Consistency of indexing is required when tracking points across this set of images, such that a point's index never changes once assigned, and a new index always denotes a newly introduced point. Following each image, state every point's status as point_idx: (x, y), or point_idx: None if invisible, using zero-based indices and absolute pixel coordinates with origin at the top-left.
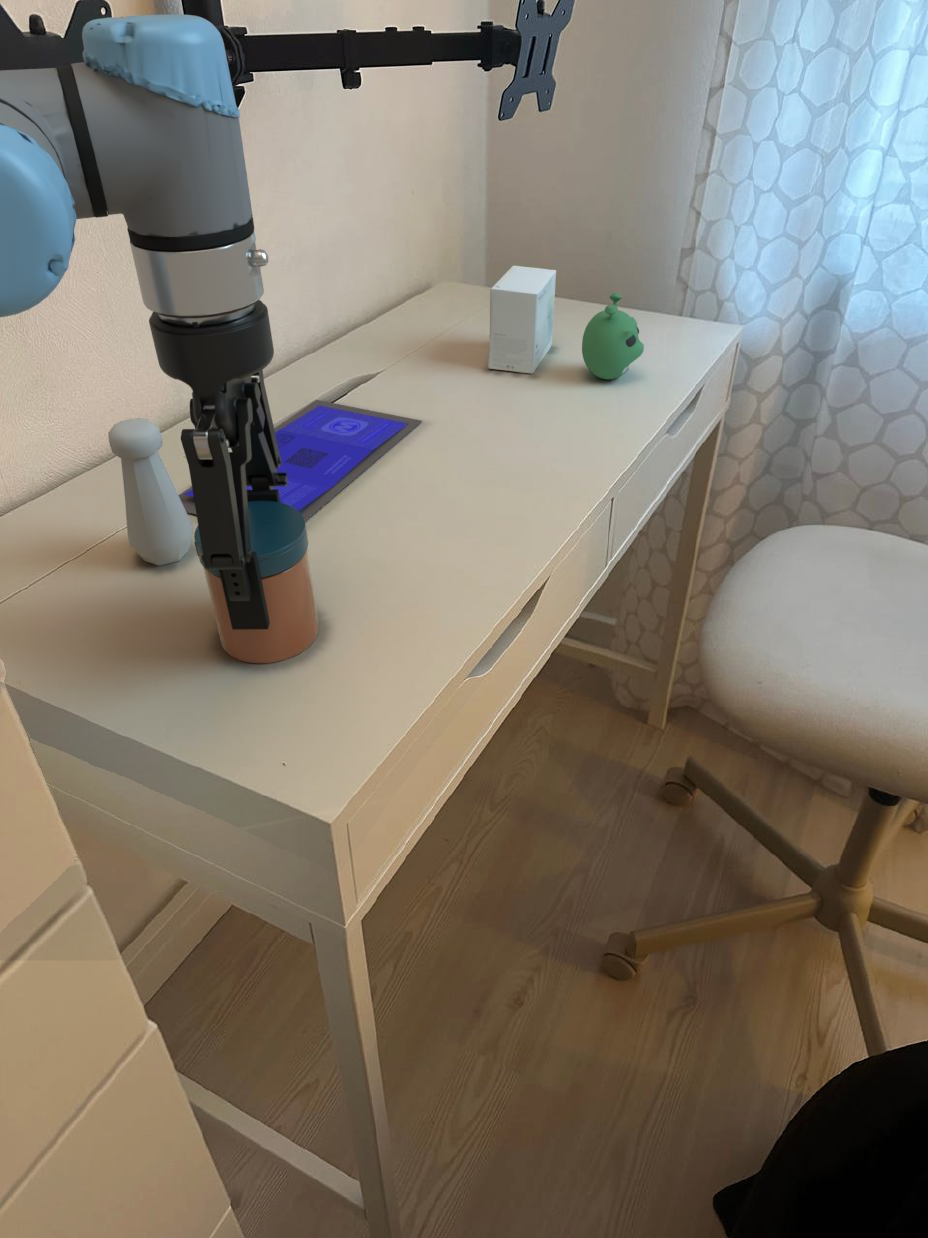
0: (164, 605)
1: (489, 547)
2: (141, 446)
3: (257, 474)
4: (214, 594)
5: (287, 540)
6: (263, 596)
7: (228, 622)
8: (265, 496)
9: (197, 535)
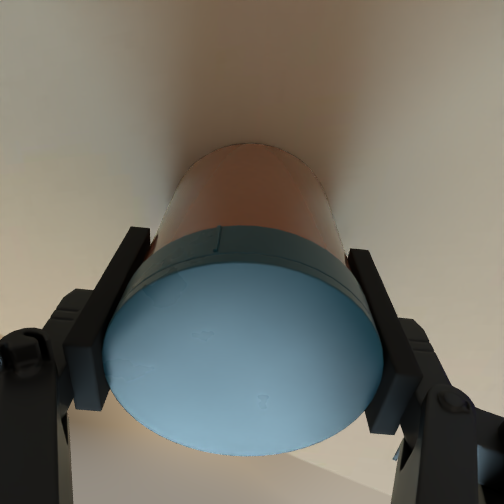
0: (375, 2)
1: (388, 444)
2: None
3: (406, 463)
4: (172, 219)
5: (181, 435)
6: None
7: (168, 209)
8: (377, 408)
9: (217, 270)
